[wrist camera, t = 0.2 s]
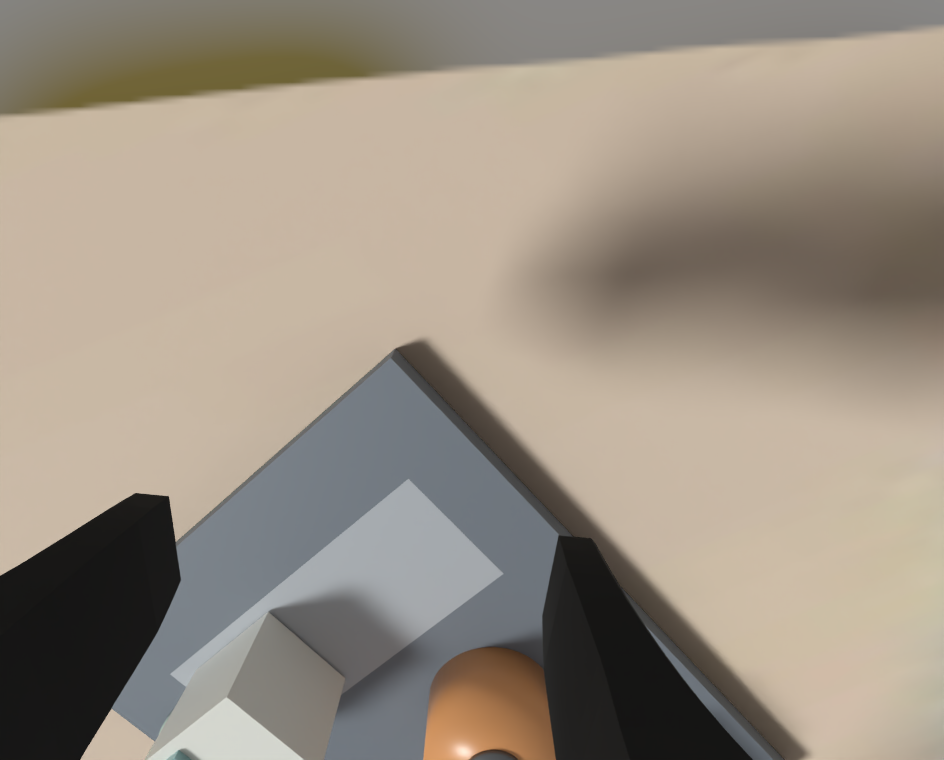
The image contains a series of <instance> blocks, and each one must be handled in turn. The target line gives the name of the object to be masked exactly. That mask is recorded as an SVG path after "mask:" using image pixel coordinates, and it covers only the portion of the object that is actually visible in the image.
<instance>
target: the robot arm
mask: <svg viewBox="0 0 944 760" xmlns="http://www.w3.org/2000/svg"><path fill="white" fill-rule="evenodd" d="M180 582H181V576H180V569H179V562H178V556H177V549H176V542H175V535H174V528H173V522H172V515H171V508H170V501H169V496H159V495H149V494H139V493H135V494H133V495H132V496H130V497H128V498H126V499H125V500H123V501H121V502H120V503H118V504H116V505H115V506H113V507H111V508H110V509H108V510H107V511H105V512H103V513H102V514H100V515H99V516H97V517H95V518H94V519H92V520H91V521H89V522H88V523H86V524H84V525H83V526H81V527H80V528H78V529H76V530H75V531H73V532H72V533H70V534H69V535H67V536H65V537H64V538H62V539H60V540H59V541H57V542H56V543H54V544H52V545H51V546H49V547H48V548H46V549H44V550H43V551H41V552H39V553H38V554H36V555H35V556H33V557H31V558H30V559H28V560H27V561H25V562H23V563H22V564H20V565H18V566H17V567H15V568H13V569H11V570H10V571H8V572H6V573H4V574H3V575H1V576H0V760H80V759H81V757H82V755H83V754H84V752H85V750H86V749H87V747H88V745H89V744H90V742H91V741H92V739H93V737H94V736H95V734H96V733H97V731H98V729H99V728H100V726H101V724H102V723H103V721H104V720H105V718H106V716H107V715H108V713H109V711H110V710H111V708H112V707H113V705H114V703H115V702H116V700H117V698H118V697H119V695H120V694H121V692H122V690H123V689H124V687H125V686H126V684H127V682H128V681H129V679H130V677H131V676H132V674H133V673H134V671H135V669H136V668H137V666H138V664H139V663H140V661H141V659H142V658H143V656H144V654H145V653H146V651H147V649H148V648H149V646H150V644H151V643H152V641H153V639H154V638H155V636H156V634H157V633H158V631H159V628H160V626H161V624H162V622H163V620H164V618H165V616H166V614H167V611H168V609H169V607H170V605H171V602H172V600H173V598H174V596H175V593H176V591H177V589H178V586H179V584H180ZM542 633H543V667H544V677H545V685H546V692H547V699H548V707H549V714H550V721H551V729H552V736H553V743H554V750H555V757H556V760H753V759H752V758H751V757H750V756H749V755H748V754H747V753H746V752H745V751H744V749H743V748H742V747H741V746H740V745H739V744H738V743H737V742H736V741H735V740H734V739H733V737H732V736H731V735H730V734H729V733H728V732H727V731H726V730H725V728H724V727H723V726H722V725H721V724H720V723H719V721H718V720H717V719H716V718H715V717H714V716H713V714H712V713H711V712H710V711H709V710H708V709H707V707H706V706H705V705H704V704H703V703H702V701H701V700H700V699H699V698H698V696H697V695H696V694H695V693H694V692H693V690H692V689H691V688H690V686H689V685H688V684H687V683H686V681H685V680H684V679H683V677H682V676H681V675H680V673H679V672H678V671H677V669H676V668H675V667H674V665H673V664H672V663H671V661H670V660H669V659H668V657H667V656H666V655H665V653H664V652H663V650H662V649H661V648H660V646H659V645H658V643H657V642H656V641H655V639H654V638H653V636H652V635H651V633H650V632H649V630H648V629H647V627H646V626H645V624H644V623H643V621H642V620H641V618H640V617H639V615H638V614H637V612H636V611H635V609H634V608H633V606H632V605H631V603H630V601H629V600H628V598H627V597H626V595H625V593H624V592H623V590H622V589H621V587H620V585H619V584H618V582H617V580H616V579H615V577H614V575H613V574H612V572H611V570H610V568H609V567H608V565H607V563H606V561H605V560H604V558H603V556H602V554H601V553H600V551H599V549H598V547H597V545H596V544H595V543H594V541H593V540H592V539H590V538H580V537H570V536H560V535H558V540H557V545H556V550H555V555H554V560H553V565H552V570H551V575H550V580H549V585H548V589H547V594H546V599H545V604H544V609H543V614H542Z"/></svg>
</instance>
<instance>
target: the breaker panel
mask: <svg viewBox="0 0 944 760" xmlns="http://www.w3.org/2000/svg"><path fill="white" fill-rule="evenodd" d="M558 535H560V536H570V537H573V536H572V535H571V534H570V533H569V532H568V531H567V530H566V528H565V527H564V526H563V525H562V524H561V523H560V522H559V521H558V520H557V519H556V518H555V517H554V516H553V515H552V514H551V513H550V512H549V511H548V509H547V508H546V507H545V506H544V505H543V504H542V503H541V502H540V501H539V500H538V499H537V498H536V497H535V496H534V495H533V494H532V493H531V491H530V490H529V489H528V488H527V487H526V486H525V485H524V484H523V483H522V482H521V481H520V480H519V479H518V478H517V477H516V476H515V475H514V474H513V472H512V471H511V470H510V469H509V468H508V467H507V466H506V465H505V464H504V463H503V462H502V461H501V460H500V459H499V458H498V457H497V456H496V454H495V453H494V452H493V451H492V450H491V449H490V448H489V447H488V446H487V445H486V444H485V443H484V442H483V441H482V440H481V439H480V438H479V437H478V435H477V434H476V433H475V432H474V431H473V430H472V429H471V428H470V427H469V426H468V425H467V424H466V423H465V422H464V421H463V420H462V419H461V417H460V416H459V415H458V414H457V413H456V412H455V411H454V410H453V409H452V408H451V407H450V406H449V405H448V404H447V403H446V402H445V401H444V400H443V398H442V397H441V396H440V395H439V394H438V393H437V392H436V391H435V390H434V389H433V388H432V387H431V386H430V385H429V384H428V383H427V382H426V381H425V379H424V378H423V377H422V376H421V375H420V374H419V373H418V372H417V371H416V370H415V369H414V368H413V367H412V366H411V365H410V364H409V363H408V361H407V360H406V359H405V358H404V357H403V356H402V355H401V354H400V353H399V352H398V351H397V350H396V349H394V350H393V351H392V352H391V353H390V354H389V355H387V356H386V357H385V358H384V359H383V360H382V361H381V362H380V363H378V364H377V365H376V366H375V367H374V368H373V369H372V370H370V371H369V372H368V373H367V374H366V375H365V376H364V377H363V378H361V379H360V380H359V381H358V382H357V383H356V384H355V385H354V386H352V387H351V388H350V389H349V390H348V391H347V392H346V393H344V394H343V395H342V396H341V397H340V398H339V399H338V400H337V401H335V402H334V403H333V404H332V405H331V406H330V407H329V408H327V409H326V410H325V411H324V412H323V413H322V414H321V415H320V416H318V417H317V418H316V419H315V420H314V421H313V422H312V423H310V424H309V425H308V426H307V427H306V428H305V429H304V430H303V431H301V432H300V433H299V434H298V435H297V436H296V437H295V438H293V439H292V440H291V441H290V442H289V443H288V444H287V445H286V446H284V447H283V448H282V449H281V450H280V451H279V452H278V453H276V454H275V455H274V456H273V457H272V458H271V459H270V460H269V461H267V462H266V463H265V464H264V465H263V466H262V467H261V468H259V469H258V470H257V471H256V472H255V473H254V474H253V475H252V476H250V477H249V478H248V479H247V480H246V481H245V482H244V483H242V484H241V485H240V486H239V487H238V488H237V489H236V490H235V491H233V492H232V493H231V494H230V495H229V496H228V497H227V498H225V499H224V500H223V501H222V502H221V503H220V504H219V505H218V506H216V507H215V508H214V509H213V510H212V511H211V512H210V513H209V514H207V515H206V516H205V517H204V518H203V519H202V520H201V521H199V522H198V523H197V524H196V525H195V526H194V527H193V528H192V529H190V530H189V531H188V532H187V533H186V534H185V535H184V536H182V537H181V538H180V539H179V540H178V541H177V542H176V549H177V556H178V562H179V569H180V576H181V582H180V584H179V586H178V589H177V591H176V593H175V596H174V598H173V600H172V602H171V605H170V607H169V609H168V611H167V614H166V616H165V618H164V620H163V622H162V624H161V626H160V628H159V631H158V633H157V634H156V636H155V638H154V639H153V641H152V643H151V644H150V646H149V648H148V649H147V651H146V653H145V654H144V656H143V658H142V659H141V661H140V663H139V664H138V666H137V668H136V669H135V671H134V673H133V674H132V676H131V677H130V679H129V681H128V682H127V684H126V686H125V687H124V689H123V690H122V692H121V694H120V695H119V697H118V698H117V700H116V702H115V703H114V705H113V707H112V709H113V710H114V711H116V712H117V713H118V714H120V715H121V716H122V717H123V718H125V719H126V720H127V721H129V722H130V723H131V724H133V725H134V726H135V727H137V728H138V729H139V730H141V731H142V732H143V733H144V734H146V735H147V736H148V737H150V738H151V739H152V740H154V741H156V739H157V737H158V735H159V734H160V732H161V730H162V728H163V727H164V725H165V723H166V722H167V720H168V718H169V716H170V715H171V713H172V711H173V709H174V708H175V706H176V704H177V702H178V701H179V699H180V697H181V696H182V694H183V692H184V690H185V689H186V687H187V685H188V683H189V682H190V680H191V678H192V676H193V675H194V673H195V671H196V670H197V669H198V668H199V667H201V666H202V665H203V664H204V663H206V662H207V661H208V660H209V659H210V658H212V657H213V656H214V655H215V654H217V653H218V652H219V651H220V650H222V649H223V648H224V647H225V646H226V645H228V644H229V643H230V642H231V641H233V640H234V639H235V638H236V637H238V636H239V635H240V634H241V633H242V632H244V631H245V630H246V629H247V628H249V627H250V626H251V625H252V624H254V623H255V622H256V621H257V620H259V619H260V618H261V617H262V616H263V615H265V614H266V613H267V612H269V613H270V614H272V615H273V616H274V617H275V618H276V619H277V620H279V621H280V622H281V623H282V624H283V625H284V626H285V627H287V628H288V629H289V630H290V631H291V632H292V633H294V634H295V635H296V636H297V637H298V638H299V639H300V640H302V641H303V642H304V643H305V644H306V645H307V646H309V647H310V648H311V649H312V650H313V651H314V652H315V653H317V654H318V655H319V656H320V657H321V658H322V659H324V660H325V661H326V662H327V663H328V664H329V665H330V666H332V667H333V668H334V669H335V670H336V671H337V672H339V673H340V674H341V675H342V676H343V677H344V678H345V682H344V685H343V689H342V693H341V697H340V700H339V704H338V708H337V712H336V715H335V719H334V723H333V727H332V731H331V734H330V738H329V742H328V746H327V749H326V753H325V757H324V760H423V757H424V746H425V736H426V725H427V714H428V703H429V693H430V687H431V684H432V681H433V679H434V677H435V675H436V674H437V672H438V671H439V670H440V668H441V667H442V666H443V665H444V664H445V663H447V662H448V661H449V660H450V659H452V658H454V657H455V656H457V655H459V654H461V653H463V652H466V651H469V650H472V649H477V648H484V647H499V648H506V649H511V650H514V651H517V652H520V653H522V654H524V655H526V656H528V657H529V658H531V659H533V660H534V661H535V662H536V663H538V664H539V665H540V666H541V667H542V669H543V670H544V667H543V633H542V614H543V609H544V604H545V599H546V594H547V589H548V585H549V580H550V575H551V570H552V565H553V560H554V555H555V550H556V545H557V540H558ZM621 589H622V588H621ZM622 590H623V589H622ZM623 592H624V593H625V595H626V597H627V598H628V600H629V601H630V603H631V605H632V606H633V608H634V609H635V611H636V612H637V614H638V615H639V617H640V618H641V620H642V621H643V623H644V624H645V626H646V627H647V629H648V630H649V632H650V633H651V635H652V636H653V638H654V639H655V641H656V642H657V643H658V645H659V646H660V648H661V649H662V650H663V652H664V653H665V655H666V656H667V657H668V659H669V660H670V661H671V663H672V664H673V665H674V667H675V668H676V669H677V671H678V672H679V673H680V675H681V676H682V677H683V679H684V680H685V681H686V683H687V684H688V685H689V686H690V688H691V689H692V690H693V692H694V693H695V694H696V695H697V696H698V698H699V699H700V700H701V701H702V703H703V704H704V705H705V706H706V707H707V709H708V710H709V711H710V712H711V713H712V714H713V716H714V717H715V718H716V719H717V720H718V721H719V723H720V724H721V725H722V726H723V727H724V728H725V730H726V731H727V732H728V733H729V734H730V735H731V736H732V737H733V739H734V740H735V741H736V742H737V743H738V744H739V745H740V746H741V747H742V748H743V749H744V751H745V752H746V753H747V754H748V755H749V756H750V757H751V758H752V759H753V760H784V759H783V758H782V757H781V756H780V755H779V754H778V753H777V752H776V750H775V749H774V748H773V747H772V746H771V745H770V744H769V743H768V742H767V741H766V740H765V739H764V738H763V737H762V736H761V735H760V734H759V732H758V731H757V730H756V729H755V728H754V727H753V726H752V725H751V724H750V723H749V722H748V721H747V720H746V719H745V718H744V717H743V716H742V715H741V713H740V712H739V711H738V710H737V709H736V708H735V707H734V706H733V705H732V704H731V703H730V702H729V701H728V700H727V699H726V698H725V697H724V695H723V694H722V693H721V692H720V691H719V690H718V689H717V688H716V687H715V686H714V685H713V684H712V683H711V682H710V681H709V680H708V679H707V678H706V676H705V675H704V674H703V673H702V672H701V671H700V670H699V669H698V668H697V667H696V666H695V665H694V664H693V663H692V662H691V661H690V660H689V659H688V657H687V656H686V655H685V654H684V653H683V652H682V651H681V650H680V649H679V648H678V647H677V646H676V645H675V644H674V643H673V642H672V641H671V639H670V638H669V637H668V636H667V635H666V634H665V633H664V632H663V631H662V630H661V629H660V628H659V627H658V626H657V625H656V624H655V623H654V622H653V620H652V619H651V618H650V617H649V616H648V615H647V614H646V613H645V612H644V611H643V610H642V609H641V608H640V607H639V606H638V605H637V604H636V602H635V601H634V600H633V599H632V598H631V597H630V596H629V595H628V594H627V593H626V592H625V591H624V590H623Z"/></svg>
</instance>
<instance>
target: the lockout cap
mask: <svg viewBox="0 0 944 760" xmlns="http://www.w3.org/2000/svg"><path fill="white" fill-rule="evenodd" d="M423 760H556V757H555V750H554V743H553V736H552V729H551V721H550V714H549V707H548V699H547V692H546V685H545V677H544V670H543V669H542V667H541V666H540V665H539V664H538V663H536V662H535V661H534V660H533V659H531V658H529V657H528V656H526V655H524V654H522V653H520V652H517V651H514V650H511V649H506V648H499V647H484V648H477V649H472V650H469V651H466V652H463V653H461V654H459V655H457V656H455V657H454V658H452V659H450V660H449V661H448V662H447V663H445V664H444V665H443V666H442V667H441V668H440V670H439V671H438V672H437V674H436V675H435V677H434V679H433V681H432V684H431V687H430V693H429V703H428V714H427V725H426V736H425V746H424V757H423Z"/></svg>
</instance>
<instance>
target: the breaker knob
mask: <svg viewBox="0 0 944 760" xmlns="http://www.w3.org/2000/svg"><path fill="white" fill-rule="evenodd" d="M344 682H345V678H344V677H343V676H342V675H341V674H340V673H339V672H337V671H336V670H335V669H334V668H333V667H332V666H330V665H329V664H328V663H327V662H326V661H325V660H324V659H322V658H321V657H320V656H319V655H318V654H317V653H315V652H314V651H313V650H312V649H311V648H310V647H309V646H307V645H306V644H305V643H304V642H303V641H302V640H300V639H299V638H298V637H297V636H296V635H295V634H294V633H292V632H291V631H290V630H289V629H288V628H287V627H285V626H284V625H283V624H282V623H281V622H280V621H279V620H277V619H276V618H275V617H274V616H273V615H272V614H270V613H269V612H267V613H266V614H265V615H263V616H262V617H261V618H260V619H259V620H257V621H256V622H255V623H254V624H252V625H251V626H250V627H249V628H247V629H246V630H245V631H244V632H242V633H241V634H240V635H239V636H238V637H236V638H235V639H234V640H233V641H231V642H230V643H229V644H228V645H226V646H225V647H224V648H223V649H222V650H220V651H219V652H218V653H217V654H215V655H214V656H213V657H212V658H210V659H209V660H208V661H207V662H206V663H204V664H203V665H202V666H201V667H199V668H198V669H197V670H196V671H195V673H194V675H193V676H192V678H191V680H190V682H189V683H188V685H187V687H186V689H185V690H184V692H183V694H182V696H181V697H180V699H179V701H178V702H177V704H176V706H175V708H174V709H173V711H172V713H171V715H170V716H169V718H168V720H167V722H166V723H165V725H164V727H163V728H162V730H161V732H160V734H159V735H158V737H157V739H156V741H155V742H154V744H153V746H152V748H151V749H150V751H149V753H148V755H147V756H146V758H145V760H324V757H325V753H326V749H327V746H328V742H329V738H330V734H331V731H332V727H333V723H334V719H335V715H336V712H337V708H338V704H339V700H340V697H341V693H342V689H343V685H344Z"/></svg>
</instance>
